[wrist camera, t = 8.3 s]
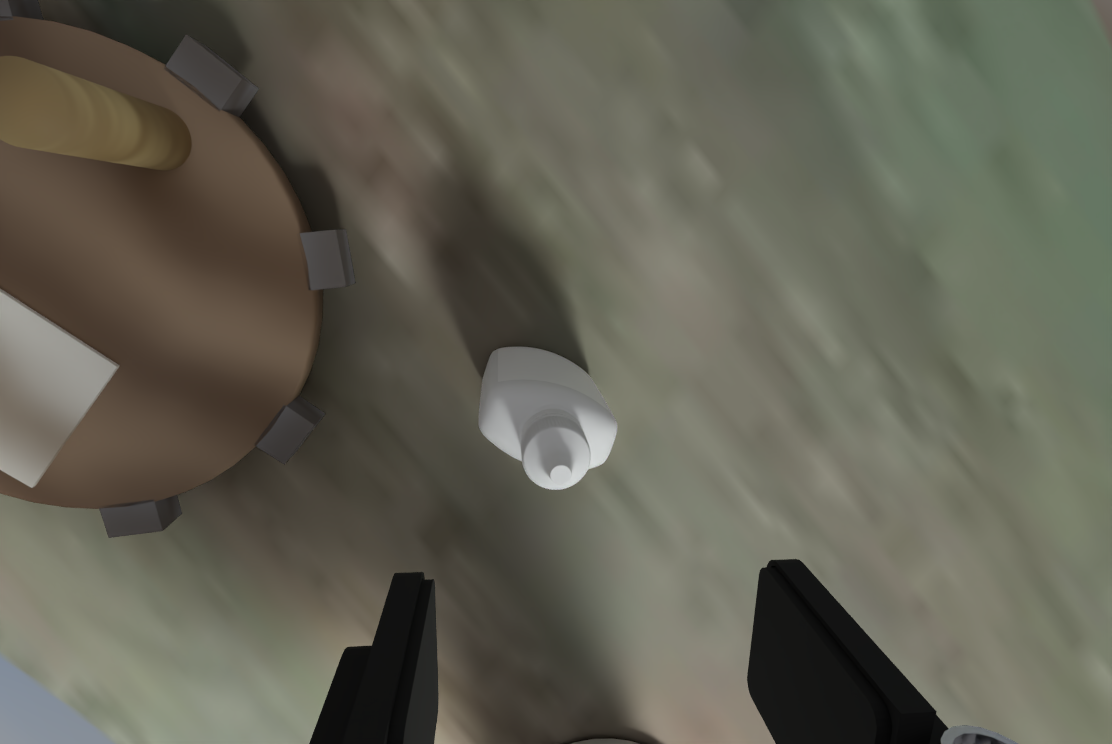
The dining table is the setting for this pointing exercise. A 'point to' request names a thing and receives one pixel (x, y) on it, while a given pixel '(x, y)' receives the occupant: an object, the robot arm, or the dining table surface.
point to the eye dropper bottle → (545, 415)
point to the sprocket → (144, 276)
